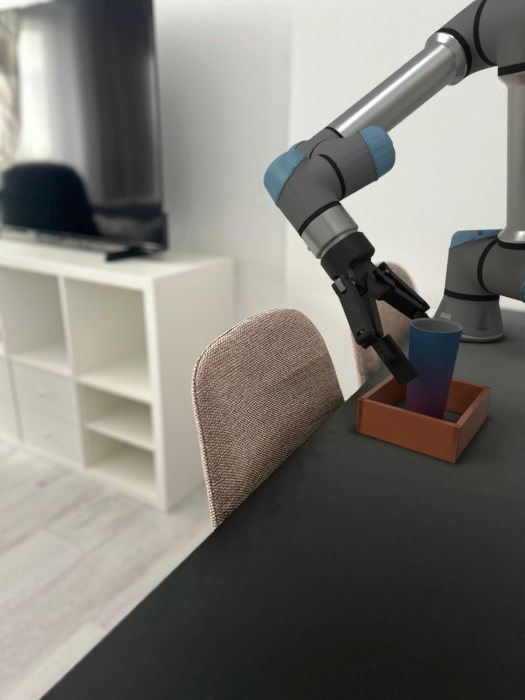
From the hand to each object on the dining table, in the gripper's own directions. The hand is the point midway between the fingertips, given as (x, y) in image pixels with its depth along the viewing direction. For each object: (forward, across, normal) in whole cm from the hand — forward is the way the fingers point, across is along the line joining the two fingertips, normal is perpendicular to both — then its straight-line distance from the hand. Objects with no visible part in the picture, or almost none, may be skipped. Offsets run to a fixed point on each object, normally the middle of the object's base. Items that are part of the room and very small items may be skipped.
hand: (428, 366), depth 71 cm
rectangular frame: (+7, 0, -6) cm, 9 cm away
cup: (+7, 0, -6) cm, 9 cm away
